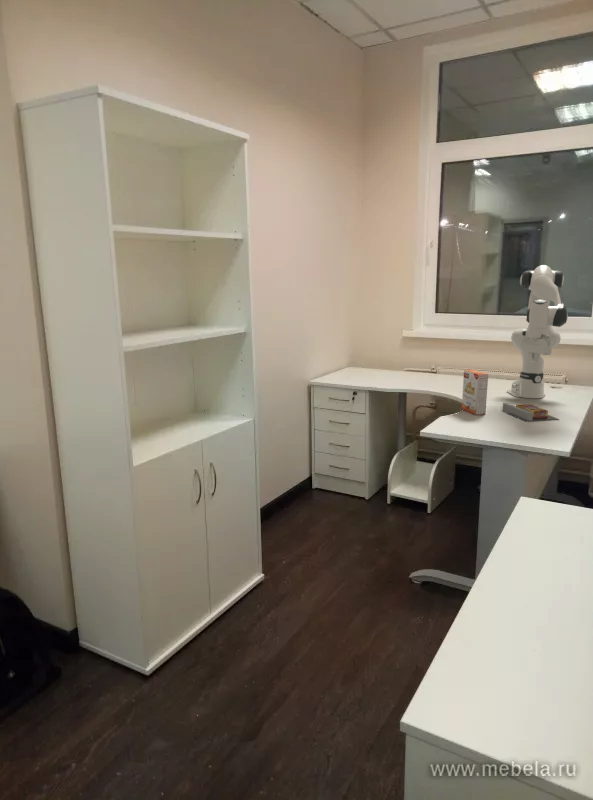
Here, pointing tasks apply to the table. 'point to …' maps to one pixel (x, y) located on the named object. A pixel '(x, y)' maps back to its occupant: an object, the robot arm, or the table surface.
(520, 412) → the mat with rail
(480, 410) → the cracker box
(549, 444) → the table surface
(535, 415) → the candy box
